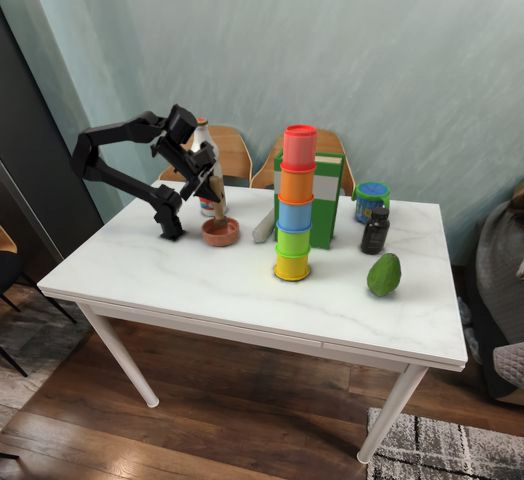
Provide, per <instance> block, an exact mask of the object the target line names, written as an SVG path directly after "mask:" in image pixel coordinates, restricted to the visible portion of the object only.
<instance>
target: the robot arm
mask: <svg viewBox="0 0 524 480" xmlns="http://www.w3.org/2000/svg"><path fill="white" fill-rule="evenodd" d="M196 118H197V117H196V116H195V115H194V114H193V113H192V112H191V111H189V110H187V109H186V108H185V107H183V106H180V105H179V104H178V103H177V102H176V103H175V104H173V105H172V107H171V109H170V112H169V114H168V116H167V117H164V116H159V115H157V114H155V113H154V112H153V111H152V110H145V111H143V112H140V113H139V114H137V115H135V116H133V117H131V118H129V119H127V120H125V121H121V122H113V123H109V124H105V125H99V126H93V127H91V126H90V127H89V126H88V127H85V128H83V130H81V131H79V132H78V135H77V140H76V144H75V146H74V149H73V152H72V154H71V157H70V158H69V161H68V164H69V168H70V169H71V171H72V172H73V175H75V177H77V178H79V179H81V180H85V181H88V182H95V183H97V182H99V183H104V184H107V185H108V186H110V187H113V188H115V189H118V190H119V191H121V192H124V193H126V194H127V195H128V194H129V195H130V196H132V197H135V198H137V199H139V200H141V201H144V202H145V203H148V204H149V205H150V206H151V208H152V209H153V210H154V211H155V212H156V213H154V215H153V220H154V221H155V222H156V224H160V228H161V231H162V233H161V234H160V235H159V236H160V238H163V239H166V240H169V241H173V242H175V241H177V240H178V239H180V238H181V237H182V236H184V235H185V234H186V233H187V231H186V230H185V229H183V225H182V222H181V220H180V217H179V216H178V214H179V212H180V209H181V208H182V206H183V201H184V202H185V203H187V202H188V200H189V199H190V197H191V196H192V197H193V198H194V197H197V198H199V197H200V198H204V199H207V200H210V201H213V202H216V203H220V202H221V200H220V198H219V197H218V196H217V195H216V194H215V192H214V191H213V190H212V189H211V186H210V180H209V178H210V177H211V176H214V168H213V169H212V171H210V169H211V168H212V167H213V165H214V164H215V163H216V161H217V160H216V159H215V158H214V157H216V156H215V154H214V152H213V149H214V147H213V146H211V144H210V143H208V142H207V141H206V140H205V141H203V142H202V143H201V144H200V149H199V150H198V151H197V152H195V153H194V152H193V151H192V150H191V148H190V149H188V150H187V149H186V148H185V147H183V146H182V145H187V144H188V142H189V141H190V139H191V138H192V136H194V132H195V130H196V128H197V127H198V122H197V120H196ZM163 133H165V134H164V135H162V134H163ZM156 138H158V139H157V140H156V142H155V143H152V142H153V141H154V140H155V139H156ZM122 142H131V143H134V144H146V145H147V144H150V143H152V144H150V146H149V148H150V151H151V152H150V154H151V157H152V158H153V159H155V158H156V157H158V155H159V156H161V157H162V158H163V159H164V160H165V161H166V162H167V163H169V165H170V166H171V167H172V168H173V170H172V171H173V173H174V174H175V175H177V174H178V173H179V174H180V176H182V177H183V178H184V180H186V181H185V182H184V183H185V184H184V185H183V186H182V188H181V189H180V190H179V191H178V192H177V190H176V188H174V187H173V188H172V187H169V186H168V185H166V184H164V183H161V184H160V185H159V187H154V186H152V185H150V184H147V183H146V182H143V181H142V180H139V179H137V178H135V177H133V176H130V175H128V174H126V173H124V172H122V171H120V170H117V169H116V168H114V167H112V166H110V165H108V164H107V163H106V161H105V160H104V159H103V158H102V157H101V156H100V153H101V150H100V146H104V145H111V144H117V143H122ZM221 195H222V198H223V197H224V195H223V193H222V191H221Z"/></svg>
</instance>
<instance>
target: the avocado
mask: <svg viewBox="0 0 524 480" xmlns="http://www.w3.org/2000/svg"><path fill="white" fill-rule="evenodd" d="M401 278H402V267H401V260H400V258H399V257H398V255H397V254H396V253H393V252H386V253H384V254H382V255H381V256H380V257H379V258H378V259H377V260H376V262H375V263H374V264H372V266H371V267H370V269H369V270H368V273H367V276H366V284H367V288H368V289H369V291H370V293H371V294H372V295H375V296H378V297H384V296H387V295H389V294H391V293H392V292H394V291H395V289H397V288H398V286H399V284H400V282H401Z"/></svg>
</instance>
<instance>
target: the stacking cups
mask: <svg viewBox="0 0 524 480" xmlns="http://www.w3.org/2000/svg"><path fill="white" fill-rule="evenodd" d="M317 139H318V132H317V128H316V127H315V126H313V125H309V124H293V125H288V126H286V128H285V131H284V132H283V147H282V149H283V162H282V163H281V164H280V167H281V169H282V171H281V192H280V193H279V195H278V199H279V200H280V204H279V220H278V221H277V227H278V241H277V243H276V244H275V246H274V250H275V252H276V264H275V266H274V268H273V270H274V274H275V275H276V277H278V278H280V279H281V280H284V281H293V282H295V281H300V280H302V279H305V278H306V277H308V275H309V274H310V266H309V253H311V250H312V247H311V246H310V245H309V236H310V229H311V227H312V222H311V208H312V201H313V200H314V194H313V193H312V191H313V179H314V170H315V169H316V164H315V152H317Z"/></svg>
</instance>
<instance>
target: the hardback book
mask: <svg viewBox="0 0 524 480" xmlns="http://www.w3.org/2000/svg"><path fill="white" fill-rule="evenodd" d="M282 162H283V148H281V150H280V151H279V152H278V153H277V154H276V155H275V156H274V157H273V205H274V206H273V208H274V242H278V227H277V221H278V220H279V204H280V200H279V199H278V195H279V193H280V192H281V171H282V169H281V167H280V164H281V163H282ZM345 162H346V153H338V152H324V151H316V152H315V164H316V169H315V170H314V179H313V191H312V193H313V194H314V200H313V201H312V208H311V222H312V227H311V229H310V236H309V245H310V246H311V248H317V249H323V250H329V249H330V242H331V239H333V238H334V233H335V227H336V221H337V214H338V208H339V200H340V194H341V189H342V188H341V187H342V183H343V182H342V180H343V174H344V169H345Z"/></svg>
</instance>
